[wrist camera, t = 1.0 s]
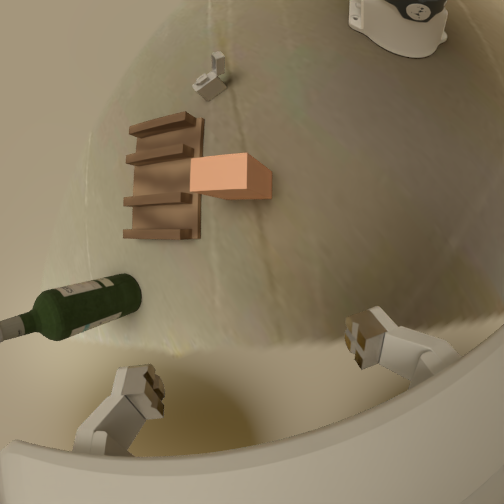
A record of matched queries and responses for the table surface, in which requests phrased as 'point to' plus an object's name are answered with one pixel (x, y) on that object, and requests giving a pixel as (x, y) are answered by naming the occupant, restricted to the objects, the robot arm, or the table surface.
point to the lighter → (212, 78)
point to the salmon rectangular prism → (231, 177)
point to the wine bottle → (76, 308)
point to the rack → (165, 178)
